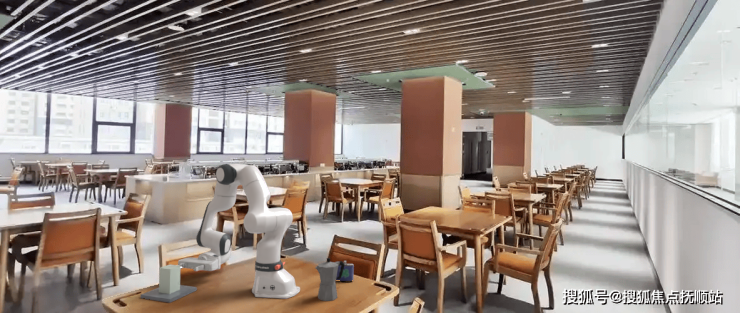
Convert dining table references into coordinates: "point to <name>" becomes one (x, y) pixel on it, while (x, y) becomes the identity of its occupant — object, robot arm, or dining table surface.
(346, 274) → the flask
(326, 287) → the coffeepot
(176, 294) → the board
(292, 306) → the dining table surface
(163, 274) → the cover
